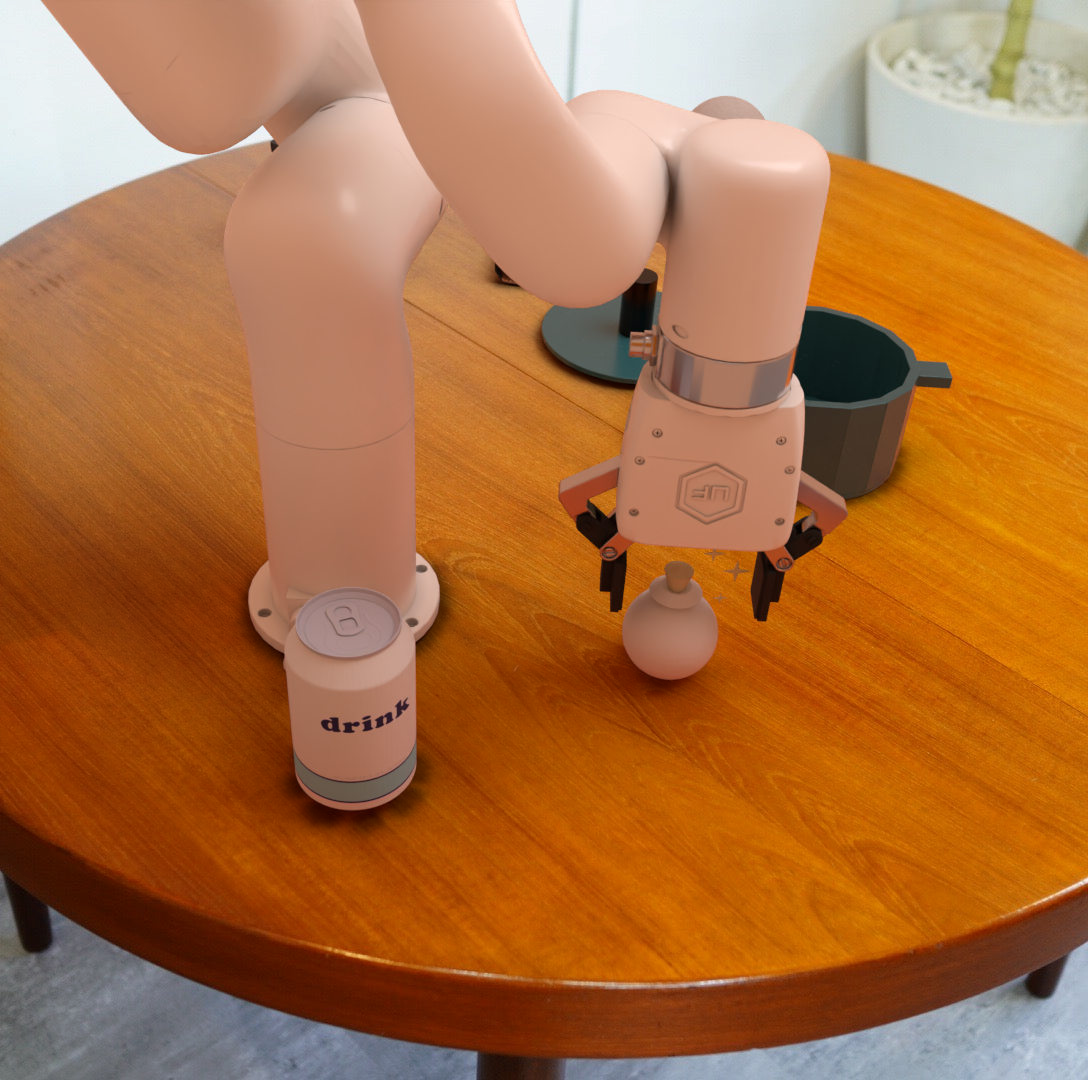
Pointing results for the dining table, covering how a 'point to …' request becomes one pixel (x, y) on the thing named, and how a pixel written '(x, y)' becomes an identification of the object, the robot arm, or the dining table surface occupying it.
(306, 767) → the beverage can
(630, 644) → the potion bottle
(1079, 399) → the dining table surface
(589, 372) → the lid
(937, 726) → the dining table surface
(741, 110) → the ball
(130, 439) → the dining table surface
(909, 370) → the pot
